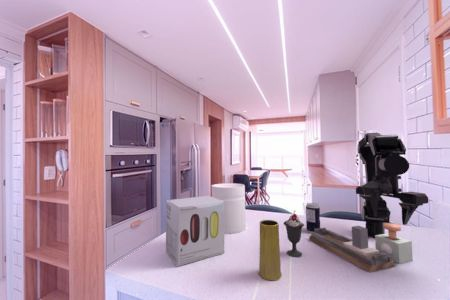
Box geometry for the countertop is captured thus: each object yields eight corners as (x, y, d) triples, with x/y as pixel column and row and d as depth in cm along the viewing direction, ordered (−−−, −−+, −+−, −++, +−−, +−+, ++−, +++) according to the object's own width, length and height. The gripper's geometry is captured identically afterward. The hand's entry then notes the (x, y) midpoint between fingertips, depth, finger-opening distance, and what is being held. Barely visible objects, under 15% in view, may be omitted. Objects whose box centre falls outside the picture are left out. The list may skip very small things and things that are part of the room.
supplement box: (177, 268, 59) (177, 207, 60) (165, 251, 70) (165, 199, 71) (226, 253, 68) (225, 200, 69) (208, 240, 79) (208, 194, 80)
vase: (256, 268, 58) (255, 219, 59) (277, 267, 59) (275, 218, 59) (262, 281, 52) (261, 226, 53) (284, 280, 53) (283, 225, 53)
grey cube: (388, 250, 68) (387, 233, 69) (412, 260, 62) (411, 241, 62) (374, 253, 67) (374, 235, 67) (398, 264, 60) (397, 243, 60)
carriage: (355, 246, 68) (354, 223, 68) (379, 257, 60) (378, 230, 61) (343, 248, 67) (342, 224, 67) (366, 260, 59) (365, 232, 59)
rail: (329, 236, 82) (329, 226, 82) (394, 266, 59) (393, 252, 59) (309, 239, 79) (309, 229, 79) (369, 272, 56) (368, 257, 56)
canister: (251, 225, 96) (250, 184, 97) (235, 236, 83) (234, 188, 84) (223, 220, 105) (223, 182, 106) (204, 229, 91) (204, 186, 92)
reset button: (390, 236, 67) (389, 222, 67) (405, 241, 63) (404, 226, 63) (380, 238, 66) (380, 223, 66) (395, 243, 62) (394, 228, 62)
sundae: (295, 260, 63) (293, 212, 63) (280, 251, 69) (279, 208, 69) (309, 255, 66) (308, 210, 66) (293, 247, 72) (292, 206, 72)
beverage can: (322, 234, 84) (321, 205, 85) (307, 233, 85) (307, 205, 86) (318, 229, 90) (317, 202, 90) (305, 228, 91) (304, 202, 92)
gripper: (343, 171, 72) (344, 214, 72) (400, 175, 54) (403, 233, 54) (366, 170, 75) (368, 211, 75) (428, 174, 57) (431, 228, 57)
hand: (388, 220), depth 65 cm, fingers open, 9 cm apart
